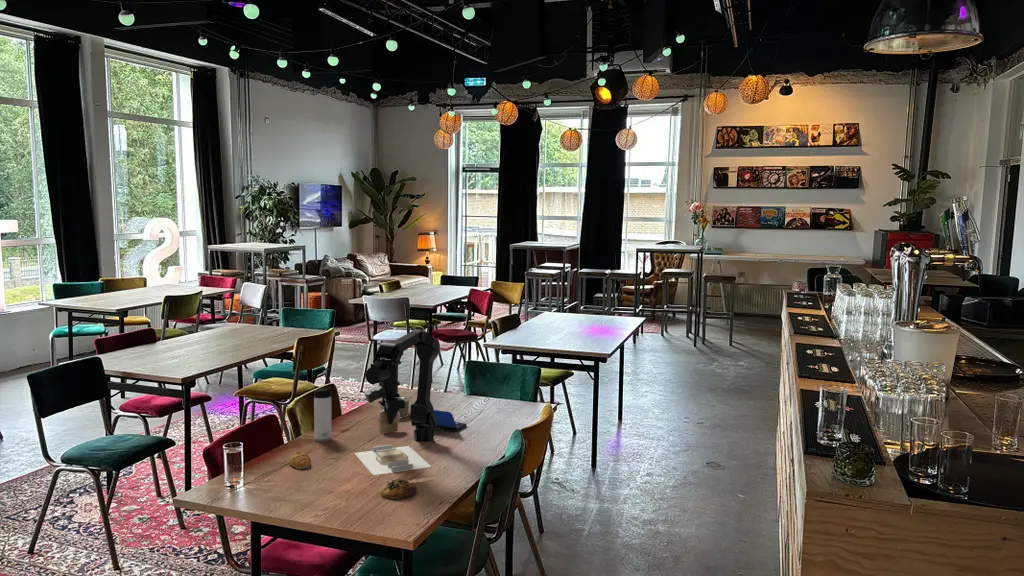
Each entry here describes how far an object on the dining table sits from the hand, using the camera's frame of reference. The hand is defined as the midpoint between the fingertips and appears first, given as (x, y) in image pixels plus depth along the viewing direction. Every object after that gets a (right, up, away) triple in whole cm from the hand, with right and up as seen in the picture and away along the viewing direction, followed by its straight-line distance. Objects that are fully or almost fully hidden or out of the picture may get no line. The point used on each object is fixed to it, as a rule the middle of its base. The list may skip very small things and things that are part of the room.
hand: (389, 423), depth 243 cm
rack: (+1, -13, -1) cm, 13 cm away
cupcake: (-6, -10, +33) cm, 35 cm away
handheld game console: (+14, -10, +41) cm, 45 cm away
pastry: (-29, -14, -4) cm, 33 cm away
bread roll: (+8, -17, -27) cm, 33 cm away
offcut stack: (+1, -12, -1) cm, 13 cm away
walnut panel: (0, -3, 0) cm, 3 cm away
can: (-8, -8, +59) cm, 60 cm away
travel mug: (-29, -11, +23) cm, 39 cm away
